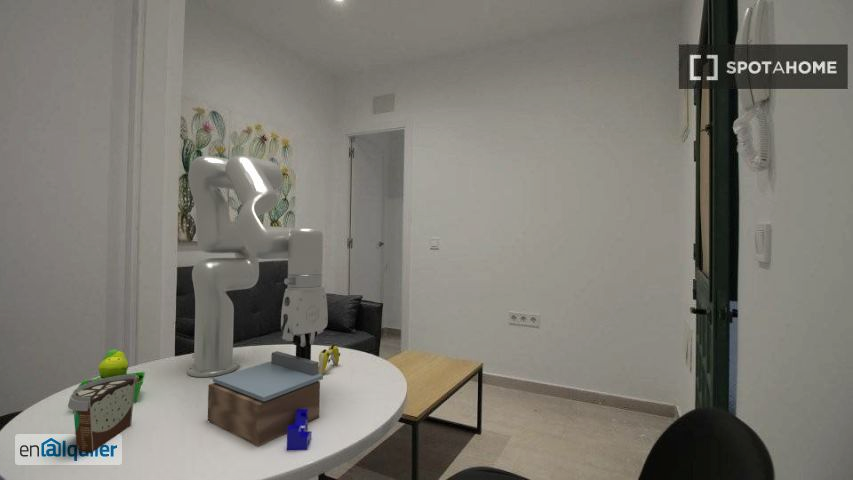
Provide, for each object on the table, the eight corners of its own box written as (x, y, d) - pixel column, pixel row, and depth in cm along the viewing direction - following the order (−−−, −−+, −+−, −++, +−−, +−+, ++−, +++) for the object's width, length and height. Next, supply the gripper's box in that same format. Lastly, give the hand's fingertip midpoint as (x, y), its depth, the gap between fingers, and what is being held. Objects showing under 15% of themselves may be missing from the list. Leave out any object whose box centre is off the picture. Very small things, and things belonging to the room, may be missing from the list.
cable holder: (307, 451, 66) (307, 428, 66) (286, 452, 66) (287, 429, 66) (315, 428, 74) (315, 408, 74) (297, 429, 74) (297, 409, 74)
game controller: (327, 375, 103) (327, 352, 103) (315, 375, 104) (315, 351, 104) (342, 364, 113) (342, 343, 113) (331, 364, 114) (331, 342, 114)
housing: (207, 421, 76) (208, 384, 76) (268, 398, 88) (269, 366, 88) (258, 447, 67) (259, 405, 67) (319, 417, 79) (319, 381, 79)
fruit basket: (73, 416, 77) (74, 361, 77) (82, 401, 85) (84, 351, 85) (142, 404, 83) (143, 353, 84) (145, 391, 91) (146, 344, 91)
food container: (103, 424, 74) (104, 373, 74) (136, 423, 75) (137, 373, 75) (45, 460, 62) (47, 399, 62) (85, 459, 62) (87, 398, 62)
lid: (212, 381, 77) (213, 365, 77) (272, 364, 89) (273, 350, 89) (263, 401, 68) (264, 383, 68) (323, 378, 79) (323, 363, 80)
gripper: (288, 285, 77) (286, 374, 77) (340, 280, 90) (338, 357, 90) (265, 283, 81) (263, 368, 81) (318, 278, 94) (317, 351, 94)
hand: (303, 362), depth 86 cm, fingers closed
